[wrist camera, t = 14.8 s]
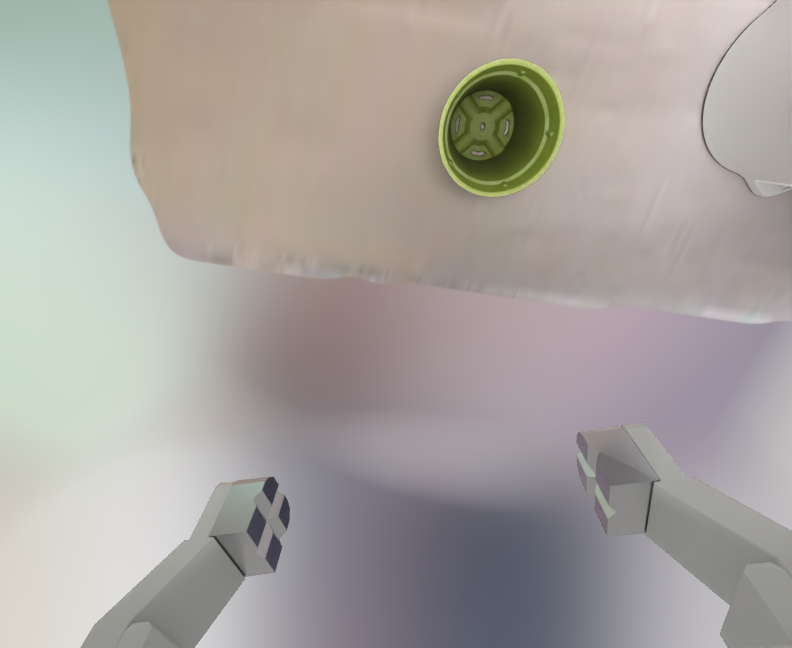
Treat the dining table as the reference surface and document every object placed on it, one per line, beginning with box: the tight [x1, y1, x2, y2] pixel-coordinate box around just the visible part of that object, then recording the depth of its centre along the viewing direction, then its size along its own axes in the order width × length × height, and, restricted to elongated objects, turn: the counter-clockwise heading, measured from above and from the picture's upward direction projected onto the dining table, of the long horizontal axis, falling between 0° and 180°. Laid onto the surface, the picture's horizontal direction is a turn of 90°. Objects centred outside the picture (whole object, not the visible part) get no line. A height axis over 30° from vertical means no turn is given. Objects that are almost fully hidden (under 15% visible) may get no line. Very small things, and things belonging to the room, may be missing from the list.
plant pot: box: [438, 58, 565, 197], centre depth 33 cm, size 9×9×9 cm
